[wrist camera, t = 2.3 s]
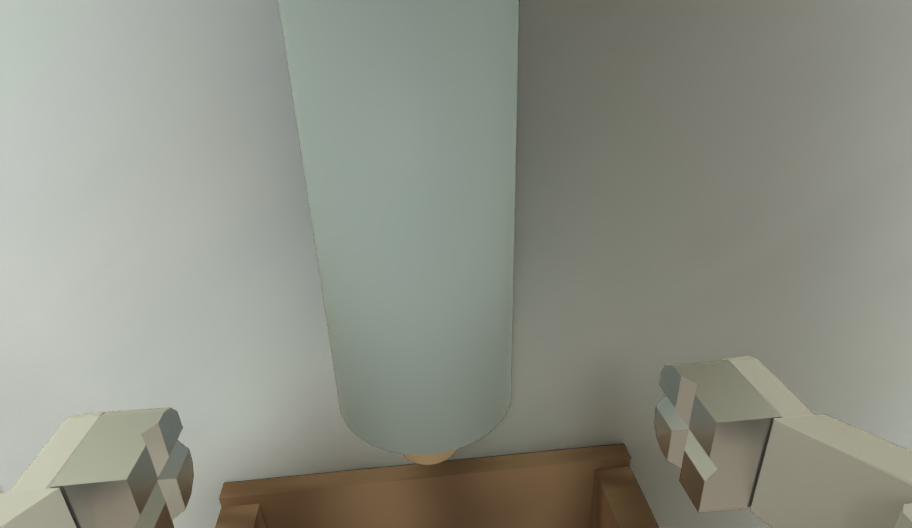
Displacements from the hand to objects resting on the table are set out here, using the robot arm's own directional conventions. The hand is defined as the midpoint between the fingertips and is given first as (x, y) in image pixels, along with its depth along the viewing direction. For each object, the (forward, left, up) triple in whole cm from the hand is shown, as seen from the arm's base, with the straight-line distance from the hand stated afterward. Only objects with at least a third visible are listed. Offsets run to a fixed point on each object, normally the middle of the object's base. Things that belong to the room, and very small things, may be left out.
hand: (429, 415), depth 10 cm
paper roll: (-1, 0, -7) cm, 7 cm away
